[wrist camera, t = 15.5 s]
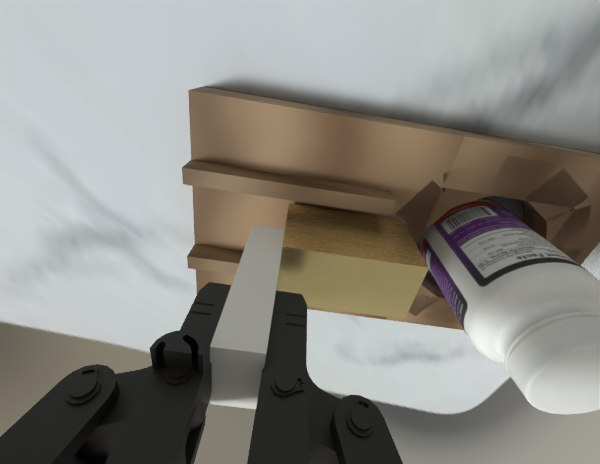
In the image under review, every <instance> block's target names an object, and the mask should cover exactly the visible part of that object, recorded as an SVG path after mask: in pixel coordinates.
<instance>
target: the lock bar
mask: <svg viewBox="0 0 600 464" xmlns="http://www.w3.org/2000/svg"><path fill="white" fill-rule="evenodd" d="M428 269H429V267H428V265H427V263H426V261H425V260H424V258H423V256H422V254H421V252H420V251H419V249H418V247H417V245H416V244H415V242H414V240H413V238H412V237H411V235H410V233H409V231H408V229H407V228H406V226H405V224H404V222H403V221H401V220H395V219H388V218H381V217H375V216H368V215H362V214H355V213H348V212H342V211H335V210H329V209H322V208H315V207H309V206H302V205H296V204H289V207H288V213H287V220H286V226H285V233H284V240H283V246H282V254H281V260H280V267H279V274H278V281H277V288H276V291H284V292H291V293H298V294H302V295H303V297H304V299H305V301H306V303H307V306H309V307H317V308H324V309H332V310H339V311H347V312H354V313H362V314H369V315H376V316H384V317H391V318H399V319H405V317H406V315H407V313H408V311H409V309H410V307H411V305H412V303H413V301H414V299H415V296H416V294H417V292H418V290H419V288H420V286H421V284H422V282H423V280H424V278H425V276H426V274H427V271H428Z"/></svg>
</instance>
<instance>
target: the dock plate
mask: <svg viewBox="0 0 600 464" xmlns="http://www.w3.org/2000/svg"><path fill="white" fill-rule="evenodd" d="M189 111H190V135H191V161H189V162H188V163H187V164H186V165H185V166H184V167H182V173H183V184H186V185H192V186H193V208H194V233H195V245H194V247H193V248H192V250H191V251H190V253H189V255H188V256H187V258H188V268H192V269H196V281H197V294H198V292H199V290H200V289H202V288H203V287H204V286H205V285H206V284H207V283H209V282H213V283H220V284H227V285H232V283H233V280H234V277H235V274H236V271H237V268H238V265H239V263H240V260H241V257H242V254H243V251H244V248H245V246H246V243H247V240H248V237H249V234H250V231H251V229H252V226H253V225H259V226H266V227H272V228H279V229H285V226H286V220H287V213H288V207H289V204H296V205H302V206H309V207H315V208H322V209H329V210H335V211H342V212H348V213H355V214H362V215H368V216H375V217H381V218H388V219H395V220H401V221H403V222H404V224H405V226H406V228H407V229H408V231H409V233H410V235H411V237H412V238H413V240H414V242H415V244H416V245H417V246H418V244H419V242H420V239H421V237H422V235H423V232H424V231H425V230H426V229H427V228H428V227H430V226H431V225H432V224H433V223H434V222H436V221H437V220H438V219H439V218H440V217H442V216H443V215H444V214H445V213H447V212H448V211H449V210H450V209H451V208H453V207H455V206H458V205H461V204H465V203H468V202H471V201H475V200H478V199H481V198H485V197H488V196H491V195H494V196H500V197H506V198H513V199H518V200H519V201H520V202H521V203H522V205H523V223H525V224H526V225H527V226H529V227H530V228H531V229H532V230H534V231H535V232H536V233H538V234H539V235H540V236H542V237H543V238H544V239H546V240H547V241H548V242H550V243H551V244H552V245H554V246H555V247H556V248H558V249H559V250H560V251H562V252H563V253H564V254H566V255H567V256H568V257H570V258H571V259H572V260H574V261H575V262H576V263H578V264H579V265H581V264H582V263H583V261H584V260H585V259H586V258H587V256H588V255H589V254H590V253H591V251H592V250H593V249H594V248H595V247H596V245H597V244H598V243H599V242H600V154H599V153H594V152H588V151H582V150H576V149H570V148H564V147H558V146H552V145H546V144H540V143H534V142H528V141H523V140H517V139H511V138H505V137H499V136H493V135H487V134H481V133H475V132H469V131H463V130H457V129H452V128H446V127H440V126H434V125H428V124H422V123H416V122H410V121H404V120H398V119H392V118H386V117H381V116H375V115H369V114H363V113H357V112H351V111H345V110H339V109H333V108H327V107H321V106H315V105H310V104H304V103H298V102H292V101H286V100H280V99H274V98H268V97H262V96H256V95H250V94H244V93H238V92H233V91H227V90H221V89H215V88H209V87H200V88H196V89H192V90H189ZM276 288H277V287H276ZM307 309H311V310H319V311H326V312H334V313H341V314H349V315H356V316H363V317H371V318H378V319H386V320H393V321H401V322H408V323H416V324H423V325H431V326H438V327H446V328H453V329H461V330H463V328H462V326H461V324H460V322H459V321H458V319H457V317H456V315H455V314H454V312H453V310H452V308H451V307H450V305H449V303H448V301H447V300H446V298H445V296H444V295H443V293H442V291H441V289H440V287H439V286H438V284H437V282H436V280H435V279H434V278H433V277H427V276H425V278H424V280H423V282H422V284H421V286H420V288H419V290H418V292H417V294H416V296H415V299H414V301H413V303H412V305H411V307H410V309H409V311H408V313H407V315H406V317H405V319H399V318H391V317H384V316H376V315H369V314H362V313H354V312H347V311H339V310H332V309H324V308H317V307H309V306H307Z"/></svg>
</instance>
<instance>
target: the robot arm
mask: <svg viewBox="0 0 600 464" xmlns="http://www.w3.org/2000/svg"><path fill="white" fill-rule="evenodd" d="M284 233H285V229H279V228H272V227H266V226H259V225H253V226H252V229H251V231H250V234H249V237H248V240H247V243H246V246H245V248H244V251H243V254H242V257H241V260H240V263H239V265H238V268H237V271H236V274H235V277H234V280H233V283H232V285H227V284H220V283H213V282H209V283H207V284H206V285H205V286H204V287H203V288H202V289H200V290H199V292H198V294H197V296H196V298H195V300H194V303H193V304H192V306H191V308H190V311H189V313H188V315H187V317H186V319H185V321H184V323H183V325H182V327H181V329H180V331H174V332H171V333H168V334H165V335H164V336H162V337H161V338H159V339H158V340H156V341H155V343H154V344H153V345H152V346H151V347H150V353H151V359H152V366H150V367H148V368H144V369H141V370H136V371H130V372H125V373H119V374H115V373H114V371H113V370H112V369H110V368H109V367H107V366H104V365H98V364H97V365H90V366H85V367H83V368H80V369H78V370H76V371H73V372H72V373H71V374H69V375H68V376H66V377H65V378H64V379H62V380H61V381H60V382H59V383H58V384H57V385H56V386H55V387H54V388H53V389H52V390H50V391H49V392H48V393H47V394H46V395H45V396H44V397H43V398H42V399H41V400H40V401H39V402H37V403H36V404H35V405H34V406H33V407H32V408H31V409H30V410H29V411H28V412H27V413H26V414H25V415H24V416H22V418H20V419H19V420H18V421H17V422H16V423H15V424H14V425H13V426H12V427H11V428H9V429H8V430H7V431H6V432H5V433H4V434H3V435H2V436H1V437H0V464H194V461H195V457H196V454H197V450H198V447H199V443H200V440H201V436H202V433H203V429H204V426H205V418H206V416H205V414H206V410H207V406H208V403H209V399H210V404H216V405H225V406H233V407H241V408H250V409H256V412H255V419H254V425H253V431H252V438H251V444H250V450H249V456H248V462H247V464H403V463H402V461H401V458H400V456H399V454H398V451H397V449H396V446H395V444H394V442H393V439H392V437H391V434H390V432H389V429H388V427H387V425H386V422H385V420H384V417H383V416H382V414H381V412H380V411H379V409H378V407H377V406H375V405H374V404H373V403H372V402H371V401H370V400H369V399H366V398H364V397H362V396H359V395H349V396H346V397H344V398H342V399H339V398H337V397H335V396H333V395H331V394H329V393H327V392H325V391H323V390H321V389H320V388H318V387H317V386H316V385H315V384H314V383H313V381H312V380H311V378H310V377H309V374H308V372H307V367H306V341H307V328H306V327H307V303H306V301H305V299H304V297H303V295H302V294H298V293H291V292H284V291H276V287H277V281H278V274H279V267H280V260H281V254H282V246H283V240H284Z"/></svg>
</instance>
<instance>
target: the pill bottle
mask: <svg viewBox="0 0 600 464" xmlns="http://www.w3.org/2000/svg"><path fill="white" fill-rule="evenodd" d="M420 251H421V254H422V256H423V258H424V260H425V261H426V263H427V265H428V267H429V270H430V272H431V274H432V275H433V277H434V279H435V280H436V282H437V284H438V286H439V287H440V289H441V291H442V293H443V295H444V296H445V298H446V300H447V301H448V303H449V305H450V307H451V308H452V310H453V312H454V314H455V315H456V317H457V319H458V321H459V322H460V324H461V326H462V328H463V330H464V331H465V333H466V334H467V336H468V338H469V339H470V341H471V342H472V344H473V345H474V346H475V347H476V348H477V350H479V351H480V352H481V353H482V354H484V355H485V356H487V357H489V358H490V359H492V360H495V361H497V362H500V363H504V364H505V366H506V368H507V370H508V372H509V374H510V376H511V377H512V379H513V380H514V381H515V383H516V384H517V386H518V387H519V388H520V390H521V391H522V393H523V394H524V396H525V398H526V399H527V400H528V402H529V403H530V404H531V405H533V406H534V407H535V408H537V409H539V410H542V411H545V412H549V413H553V414H577V413H585V412H591V411H595V410H599V409H600V281H599V280H598V279H597V278H596V277H594V276H593V275H592V274H591V273H589V272H588V271H587V270H586V269H585V268H583V267H582V266H580V265H579V264H578V263H576V262H575V261H574V260H572V259H571V258H570V257H568V256H567V255H566V254H564V253H563V252H562V251H560V250H559V249H558V248H556V247H555V246H554V245H552V244H551V243H550V242H548V241H547V240H546V239H544V238H543V237H542V236H540V235H539V234H538V233H536V232H535V231H534V230H532V229H531V228H530V227H529V226H527V225H526V224H525V223H523V222H522V221H521V220H519V219H518V218H517V217H515V216H514V215H513V214H511V213H510V212H509V211H508V210H506V209H505V208H503V207H502V206H500V205H499V204H497V203H495V202H493V201H490V200H486V199H478V200H475V201H471V202H468V203H465V204H461V205H458V206H455V207H453V208H451V209H450V210H449V211H448V212H447V213H445V214H444V215H443V216H442V217H440V218H439V219H438V220H437V221H436V222H434V223H433V224H432V225H431V226H430V227H428V228H427V229H426V230H425V231H424V232H423V235H422V237H421V239H420Z"/></svg>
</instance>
